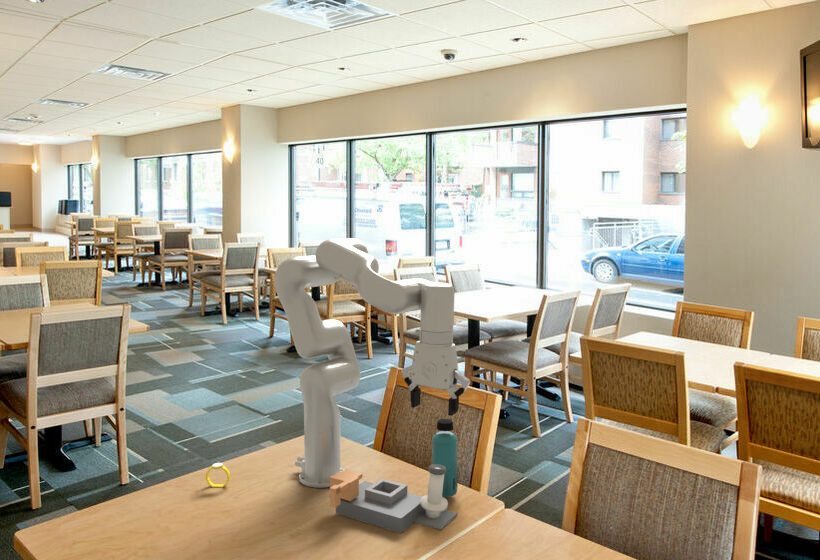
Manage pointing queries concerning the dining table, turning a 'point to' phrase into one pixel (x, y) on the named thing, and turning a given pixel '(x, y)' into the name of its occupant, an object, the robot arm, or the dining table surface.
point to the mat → (436, 523)
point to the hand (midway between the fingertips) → (433, 410)
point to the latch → (344, 486)
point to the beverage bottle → (446, 455)
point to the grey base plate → (383, 505)
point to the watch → (218, 466)
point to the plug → (435, 492)
